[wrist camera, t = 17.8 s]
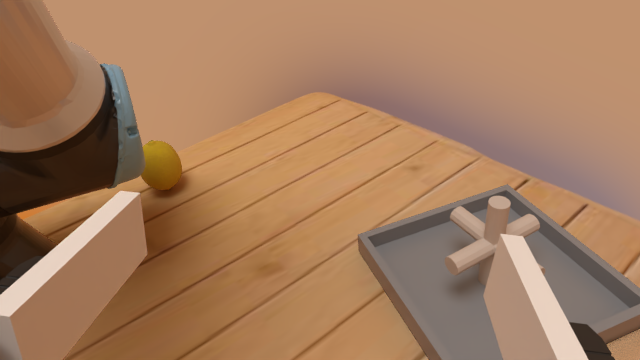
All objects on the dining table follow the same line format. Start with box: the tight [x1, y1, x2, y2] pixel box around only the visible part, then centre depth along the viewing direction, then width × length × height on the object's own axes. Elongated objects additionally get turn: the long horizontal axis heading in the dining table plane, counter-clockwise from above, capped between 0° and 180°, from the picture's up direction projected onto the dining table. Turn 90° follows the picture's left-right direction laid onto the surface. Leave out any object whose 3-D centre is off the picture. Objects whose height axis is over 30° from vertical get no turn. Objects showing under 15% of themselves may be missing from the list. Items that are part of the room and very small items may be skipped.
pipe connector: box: [445, 196, 545, 286], centre depth 42 cm, size 10×10×10 cm
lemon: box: [141, 140, 182, 190], centre depth 62 cm, size 6×6×8 cm
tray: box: [358, 184, 640, 360], centre depth 45 cm, size 20×20×2 cm
